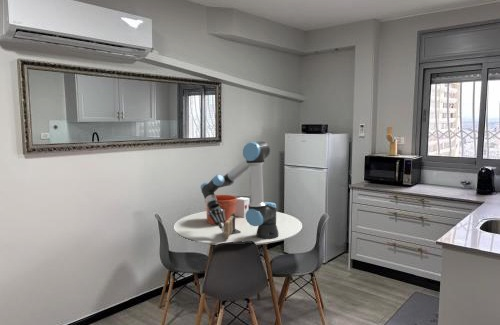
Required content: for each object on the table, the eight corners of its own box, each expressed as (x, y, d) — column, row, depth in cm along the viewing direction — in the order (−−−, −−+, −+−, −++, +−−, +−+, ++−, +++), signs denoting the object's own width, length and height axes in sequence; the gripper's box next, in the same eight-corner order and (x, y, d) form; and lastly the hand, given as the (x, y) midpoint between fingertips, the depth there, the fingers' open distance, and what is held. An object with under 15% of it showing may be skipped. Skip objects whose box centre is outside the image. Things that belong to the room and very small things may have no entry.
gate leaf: (230, 230, 256) (230, 216, 254) (233, 231, 255) (233, 216, 254) (225, 238, 237) (225, 223, 236) (227, 239, 237) (227, 223, 236)
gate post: (234, 230, 263) (234, 211, 262) (240, 232, 256) (240, 213, 255) (224, 231, 258) (224, 213, 257) (230, 234, 252) (230, 215, 251)
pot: (212, 216, 302) (212, 193, 300) (240, 218, 295) (241, 195, 293) (199, 224, 278) (199, 199, 276) (230, 227, 271) (230, 201, 269)
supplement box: (244, 217, 299) (244, 199, 298) (234, 216, 304) (235, 198, 302) (249, 215, 307) (250, 197, 305) (240, 214, 311) (241, 196, 310)
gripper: (218, 204, 259) (230, 233, 247) (202, 206, 251) (213, 236, 239) (222, 198, 254) (235, 227, 242) (205, 200, 246) (218, 230, 234)
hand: (224, 232), depth 241 cm, fingers closed
